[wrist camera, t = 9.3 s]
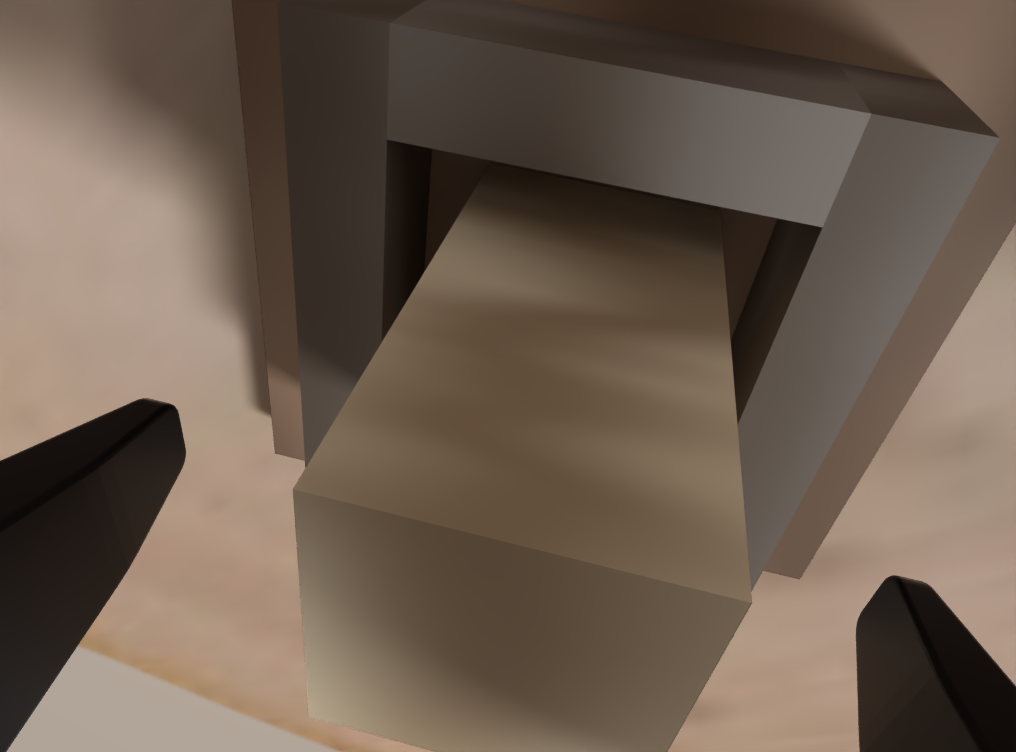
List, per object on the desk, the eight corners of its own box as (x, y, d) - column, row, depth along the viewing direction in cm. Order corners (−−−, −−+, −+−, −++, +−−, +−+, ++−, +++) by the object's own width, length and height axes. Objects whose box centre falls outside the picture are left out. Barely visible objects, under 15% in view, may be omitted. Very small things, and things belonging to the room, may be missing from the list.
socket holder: (1143, -62, 10) (1316, -21, 7) (794, 547, 18) (814, 676, 15) (245, -209, 11) (97, -224, 8) (292, 427, 19) (224, 528, 16)
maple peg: (719, 210, 12) (752, 603, 6) (659, 392, 15) (636, 806, 8) (490, 163, 13) (292, 490, 6) (467, 348, 15) (308, 717, 9)
